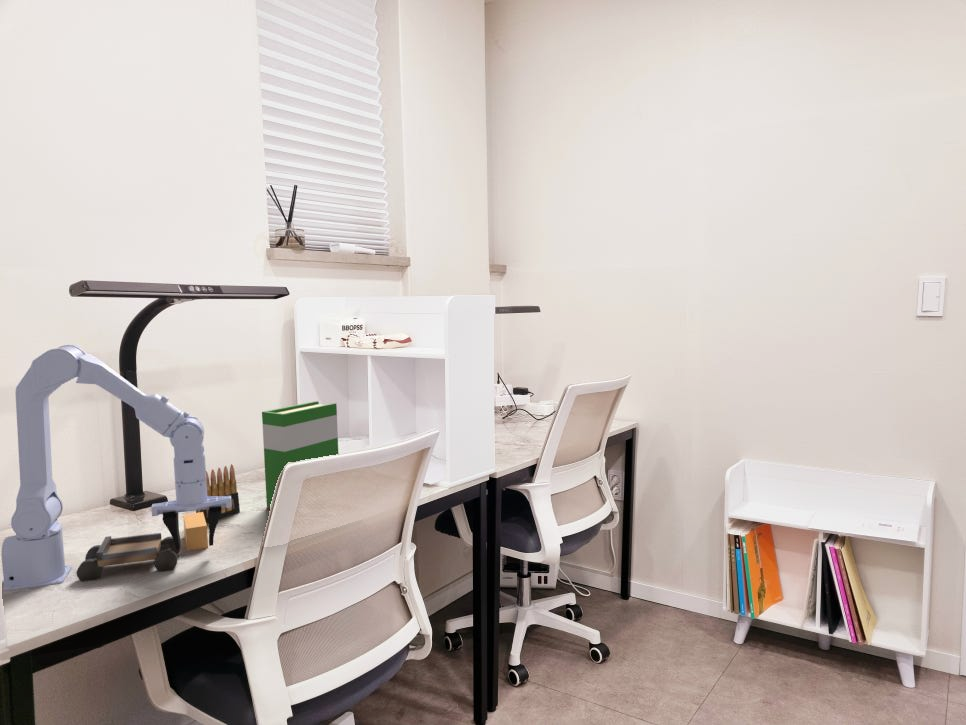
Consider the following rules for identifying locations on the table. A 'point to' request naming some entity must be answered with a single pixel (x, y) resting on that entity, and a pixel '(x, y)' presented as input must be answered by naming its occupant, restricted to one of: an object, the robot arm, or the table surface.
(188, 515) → the block
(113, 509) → the table surface
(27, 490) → the robot arm
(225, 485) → the ammunition clip
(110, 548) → the dolly
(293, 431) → the hardback book
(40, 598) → the table surface
